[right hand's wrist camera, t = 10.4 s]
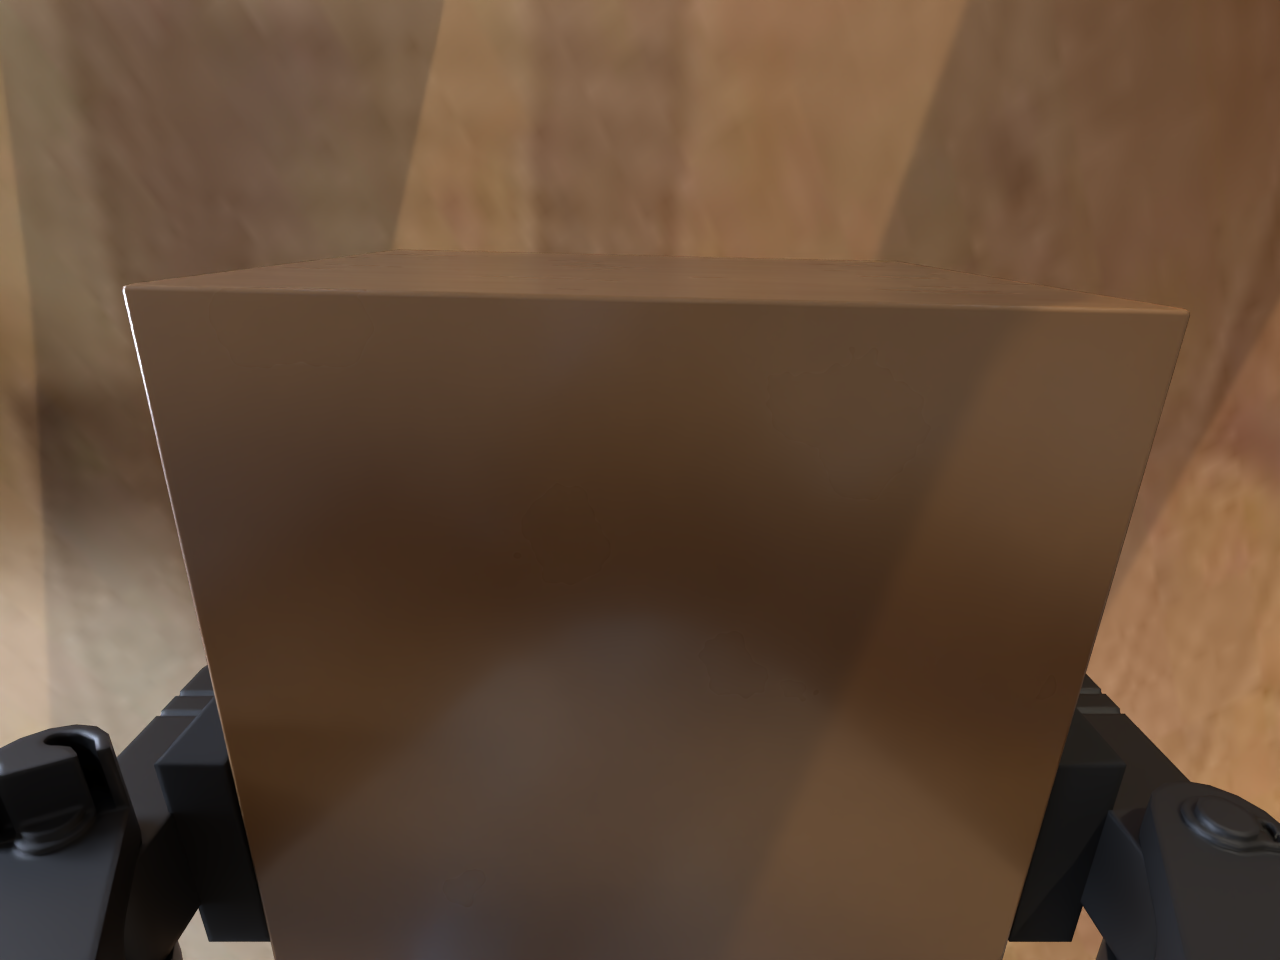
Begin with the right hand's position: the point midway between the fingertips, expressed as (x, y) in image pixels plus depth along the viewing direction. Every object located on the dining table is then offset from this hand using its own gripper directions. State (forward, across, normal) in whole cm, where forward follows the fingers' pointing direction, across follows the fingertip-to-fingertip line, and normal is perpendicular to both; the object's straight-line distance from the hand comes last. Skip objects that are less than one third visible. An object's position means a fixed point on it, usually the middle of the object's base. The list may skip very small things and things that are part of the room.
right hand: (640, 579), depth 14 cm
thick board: (0, 0, -24) cm, 24 cm away
